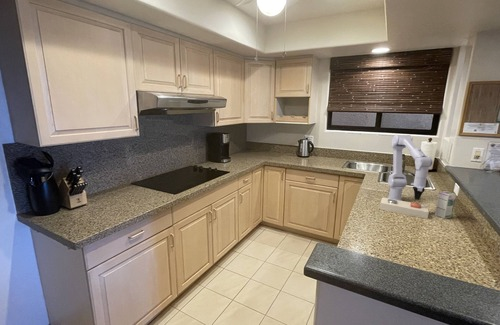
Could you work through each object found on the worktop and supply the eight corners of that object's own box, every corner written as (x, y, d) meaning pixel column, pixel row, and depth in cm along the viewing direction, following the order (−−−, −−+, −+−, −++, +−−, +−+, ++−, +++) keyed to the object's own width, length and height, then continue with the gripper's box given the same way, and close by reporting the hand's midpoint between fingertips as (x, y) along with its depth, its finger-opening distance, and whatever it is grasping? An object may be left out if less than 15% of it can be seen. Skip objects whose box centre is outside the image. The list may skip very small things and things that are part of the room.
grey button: (387, 205, 155) (388, 198, 154) (396, 207, 153) (397, 200, 152) (386, 208, 151) (387, 201, 150) (396, 210, 148) (397, 203, 148)
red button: (409, 209, 149) (410, 201, 148) (419, 211, 146) (420, 203, 145) (409, 211, 145) (410, 204, 144) (420, 214, 142) (421, 206, 141)
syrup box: (444, 218, 138) (449, 194, 135) (434, 214, 144) (438, 191, 141) (451, 217, 140) (457, 193, 137) (441, 213, 145) (446, 190, 142)
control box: (381, 203, 160) (382, 197, 159) (425, 211, 148) (427, 205, 147) (379, 209, 150) (380, 202, 149) (427, 218, 138) (428, 212, 137)
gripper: (411, 173, 149) (408, 194, 152) (413, 179, 137) (409, 201, 140) (425, 175, 146) (421, 196, 149) (428, 181, 133) (424, 204, 136)
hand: (416, 199), depth 144 cm, fingers closed
